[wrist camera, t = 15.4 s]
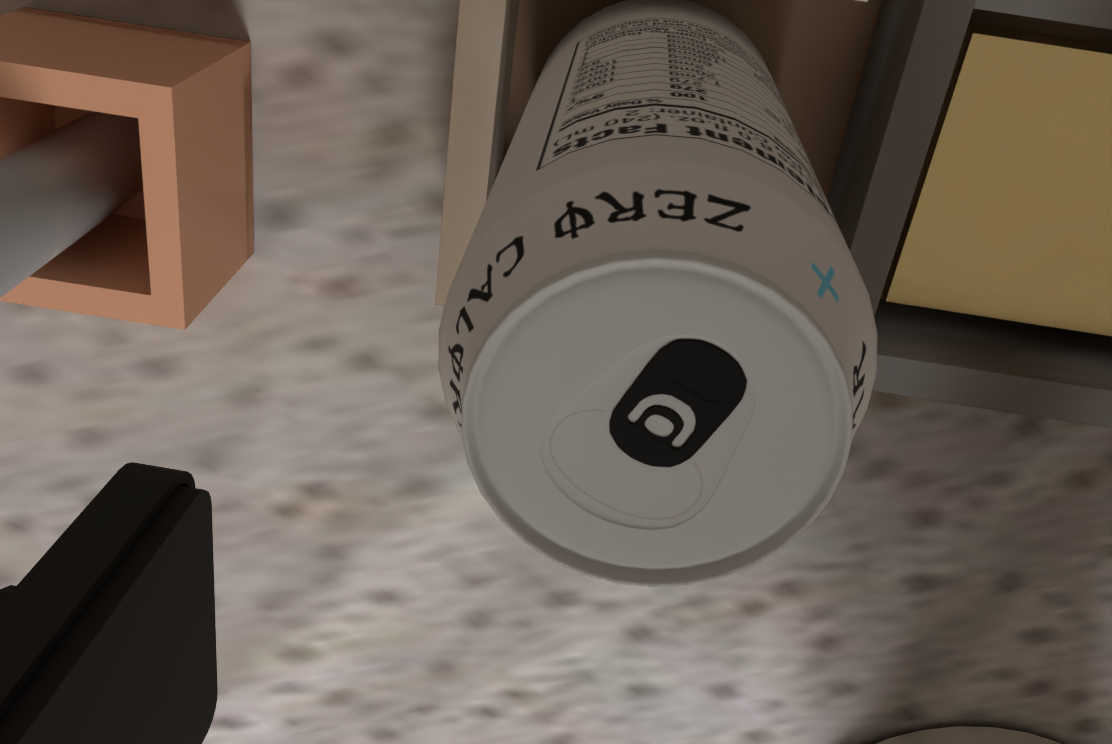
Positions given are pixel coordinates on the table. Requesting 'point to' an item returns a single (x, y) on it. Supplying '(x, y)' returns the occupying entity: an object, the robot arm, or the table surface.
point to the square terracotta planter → (122, 166)
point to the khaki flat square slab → (1016, 187)
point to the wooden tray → (821, 165)
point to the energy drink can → (657, 310)
